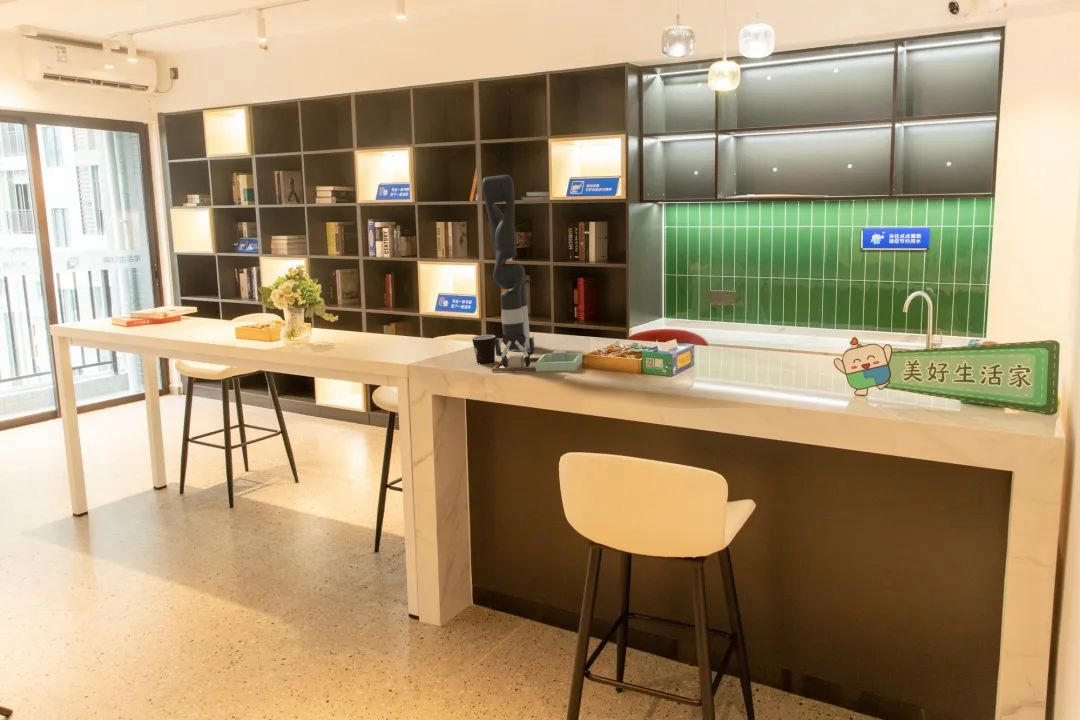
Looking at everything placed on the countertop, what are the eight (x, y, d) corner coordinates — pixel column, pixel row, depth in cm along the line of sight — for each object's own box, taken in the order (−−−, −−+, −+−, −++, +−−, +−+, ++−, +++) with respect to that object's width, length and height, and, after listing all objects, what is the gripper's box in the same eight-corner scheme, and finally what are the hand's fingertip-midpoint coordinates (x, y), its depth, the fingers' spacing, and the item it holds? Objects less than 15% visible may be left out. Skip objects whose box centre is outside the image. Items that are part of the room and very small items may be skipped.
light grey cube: (512, 367, 296) (511, 355, 295) (524, 367, 295) (523, 354, 294) (509, 370, 291) (508, 358, 290) (521, 370, 290) (520, 357, 289)
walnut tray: (503, 362, 306) (503, 358, 306) (546, 361, 303) (545, 357, 302) (492, 373, 291) (491, 369, 291) (536, 372, 288) (536, 367, 287)
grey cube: (555, 362, 297) (554, 350, 296) (568, 362, 296) (567, 350, 295) (553, 365, 293) (552, 353, 292) (565, 365, 292) (564, 352, 291)
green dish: (544, 363, 300) (543, 354, 299) (582, 362, 297) (581, 352, 296) (535, 372, 287) (535, 363, 286) (575, 371, 283) (574, 361, 283)
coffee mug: (496, 365, 303) (494, 338, 301) (473, 367, 303) (470, 340, 301) (499, 358, 314) (496, 332, 312) (476, 360, 315) (473, 334, 313)
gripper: (534, 318, 291) (538, 363, 295) (495, 320, 294) (499, 365, 298) (530, 322, 284) (534, 368, 288) (490, 323, 287) (494, 370, 291)
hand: (516, 366), depth 293 cm, fingers open, 7 cm apart
